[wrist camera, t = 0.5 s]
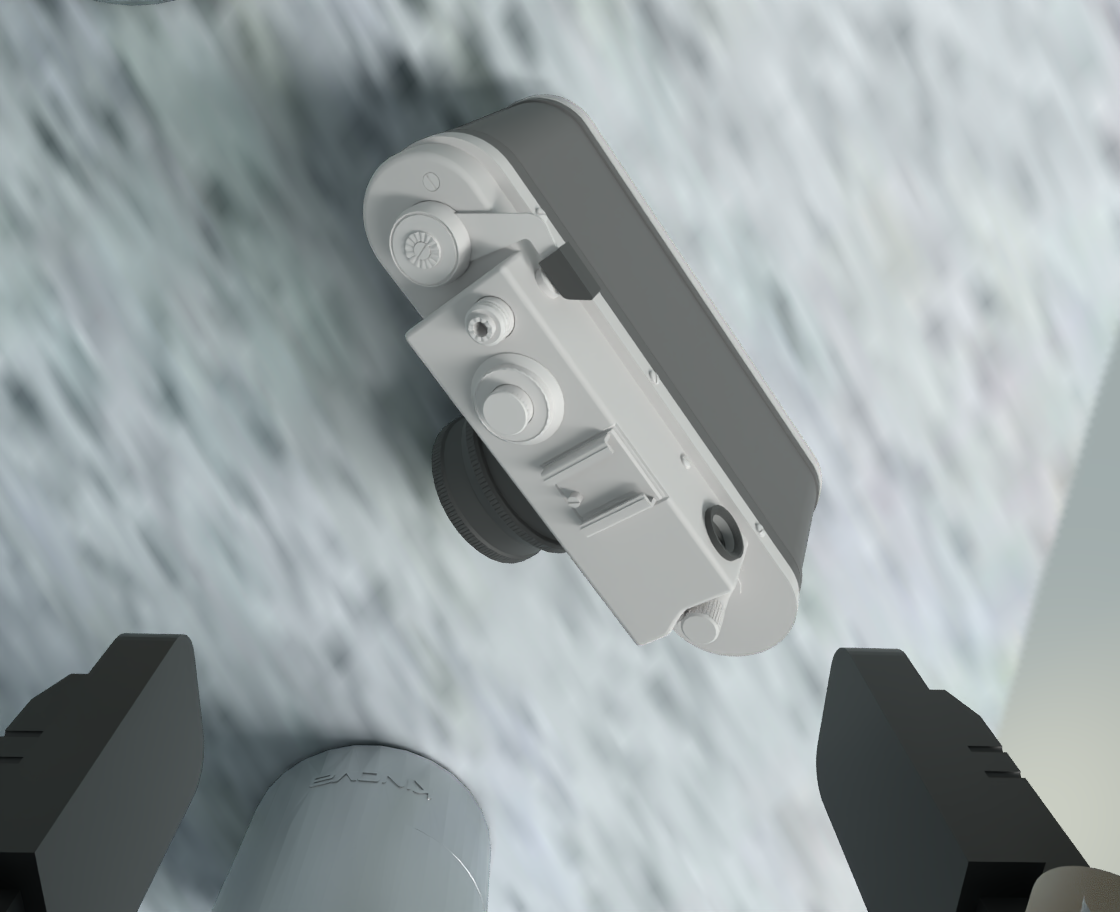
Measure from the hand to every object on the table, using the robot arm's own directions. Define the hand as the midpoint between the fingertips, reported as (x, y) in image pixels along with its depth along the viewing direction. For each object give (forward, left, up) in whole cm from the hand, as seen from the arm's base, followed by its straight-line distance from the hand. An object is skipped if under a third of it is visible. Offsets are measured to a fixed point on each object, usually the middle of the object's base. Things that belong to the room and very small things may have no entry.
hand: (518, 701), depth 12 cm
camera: (0, -1, -20) cm, 20 cm away
